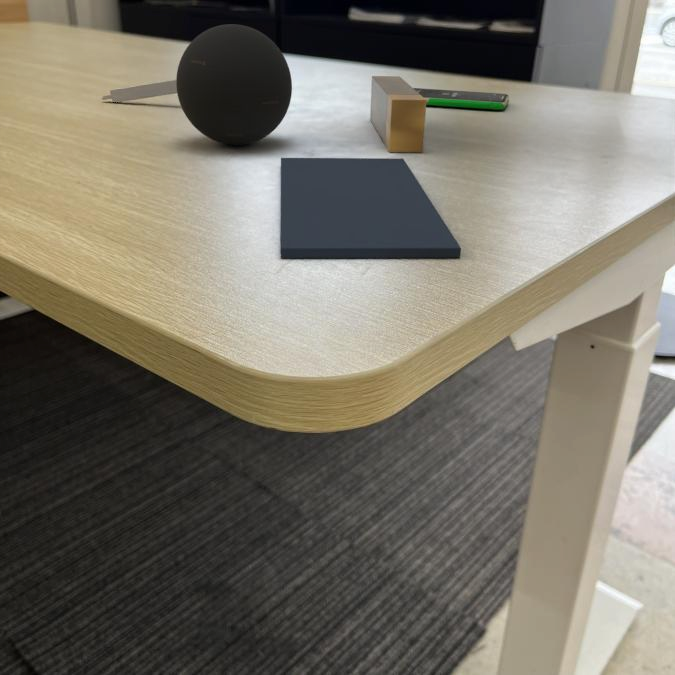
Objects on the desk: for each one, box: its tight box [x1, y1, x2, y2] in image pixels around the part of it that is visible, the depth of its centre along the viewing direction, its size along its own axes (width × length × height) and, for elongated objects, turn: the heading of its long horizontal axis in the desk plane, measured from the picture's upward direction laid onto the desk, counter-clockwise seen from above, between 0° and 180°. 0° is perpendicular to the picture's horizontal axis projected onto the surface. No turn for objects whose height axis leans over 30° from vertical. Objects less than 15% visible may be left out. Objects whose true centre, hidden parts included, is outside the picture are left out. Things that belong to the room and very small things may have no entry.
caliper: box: [101, 79, 177, 104], centre depth 84 cm, size 20×1×6 cm, turn 76°
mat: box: [279, 157, 462, 259], centre depth 51 cm, size 10×22×1 cm, turn 4°
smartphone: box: [412, 87, 510, 111], centre depth 91 cm, size 8×1×15 cm
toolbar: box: [369, 75, 427, 153], centre depth 72 cm, size 3×16×4 cm, turn 4°
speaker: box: [175, 23, 293, 146], centre depth 65 cm, size 10×10×10 cm
